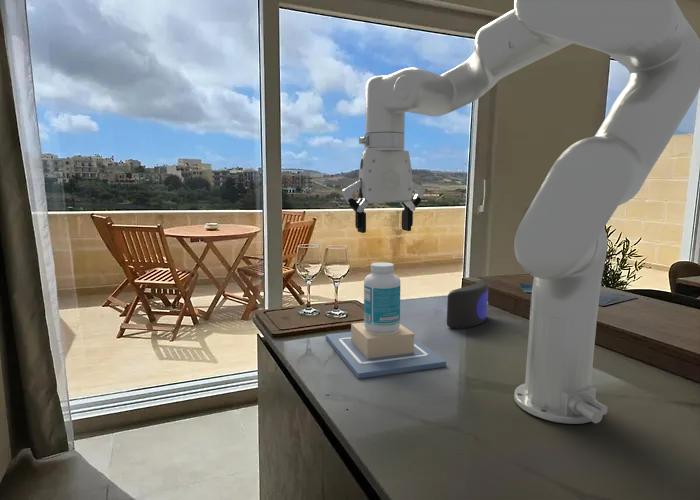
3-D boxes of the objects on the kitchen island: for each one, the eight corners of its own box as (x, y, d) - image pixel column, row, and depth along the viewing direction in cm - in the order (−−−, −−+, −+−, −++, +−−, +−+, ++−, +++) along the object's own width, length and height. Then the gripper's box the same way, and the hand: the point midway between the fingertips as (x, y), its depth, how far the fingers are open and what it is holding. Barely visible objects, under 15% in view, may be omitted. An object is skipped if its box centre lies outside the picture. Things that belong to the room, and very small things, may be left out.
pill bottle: (405, 326, 98) (407, 263, 96) (389, 336, 92) (390, 269, 90) (374, 320, 102) (375, 259, 100) (356, 330, 96) (357, 265, 94)
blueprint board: (446, 366, 91) (447, 341, 90) (358, 378, 85) (358, 351, 84) (399, 330, 111) (399, 310, 110) (325, 338, 106) (325, 316, 105)
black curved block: (461, 333, 110) (462, 294, 108) (444, 328, 113) (446, 290, 112) (496, 319, 121) (498, 283, 120) (480, 315, 124) (482, 280, 123)
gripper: (348, 141, 85) (349, 235, 88) (434, 143, 91) (432, 231, 93) (336, 144, 92) (337, 231, 95) (416, 145, 98) (415, 227, 100)
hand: (384, 231), depth 94 cm, fingers open, 9 cm apart
